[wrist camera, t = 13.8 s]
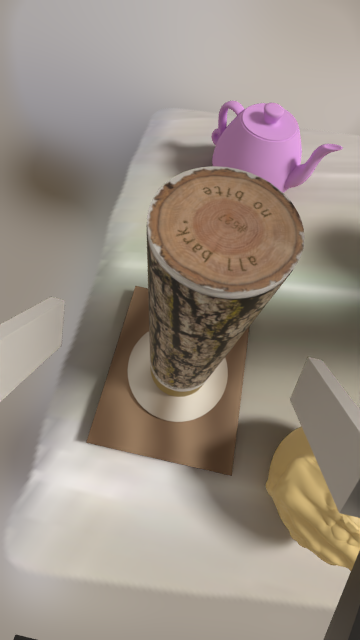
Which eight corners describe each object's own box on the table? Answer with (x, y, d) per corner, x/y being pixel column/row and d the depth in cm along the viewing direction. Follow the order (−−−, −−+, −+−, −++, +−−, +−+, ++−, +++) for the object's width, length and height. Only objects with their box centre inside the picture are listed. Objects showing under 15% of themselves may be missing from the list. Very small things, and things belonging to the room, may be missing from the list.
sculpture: (235, 490, 33) (271, 507, 23) (293, 406, 37) (344, 391, 27) (323, 575, 30) (406, 635, 20) (374, 475, 34) (463, 485, 25)
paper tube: (185, 410, 34) (255, 326, 11) (138, 374, 35) (112, 230, 12) (217, 363, 36) (329, 215, 13) (172, 331, 37) (205, 145, 14)
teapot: (320, 192, 52) (365, 123, 41) (278, 238, 47) (317, 174, 36) (231, 136, 57) (250, 60, 45) (183, 173, 51) (192, 97, 40)
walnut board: (247, 316, 41) (252, 310, 39) (228, 474, 33) (232, 476, 31) (136, 291, 41) (135, 284, 40) (89, 442, 33) (85, 442, 31)
